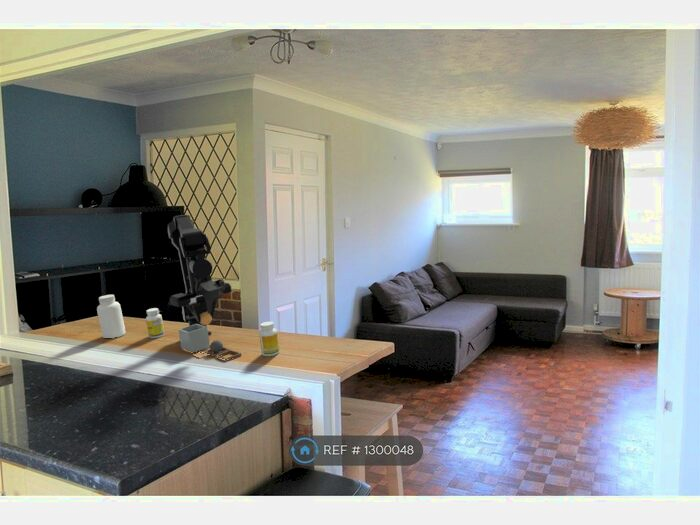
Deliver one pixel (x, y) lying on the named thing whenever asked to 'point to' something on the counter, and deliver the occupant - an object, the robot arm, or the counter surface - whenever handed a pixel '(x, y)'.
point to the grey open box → (194, 338)
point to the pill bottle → (110, 317)
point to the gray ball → (216, 346)
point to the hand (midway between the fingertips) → (205, 320)
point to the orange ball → (205, 318)
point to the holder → (226, 351)
